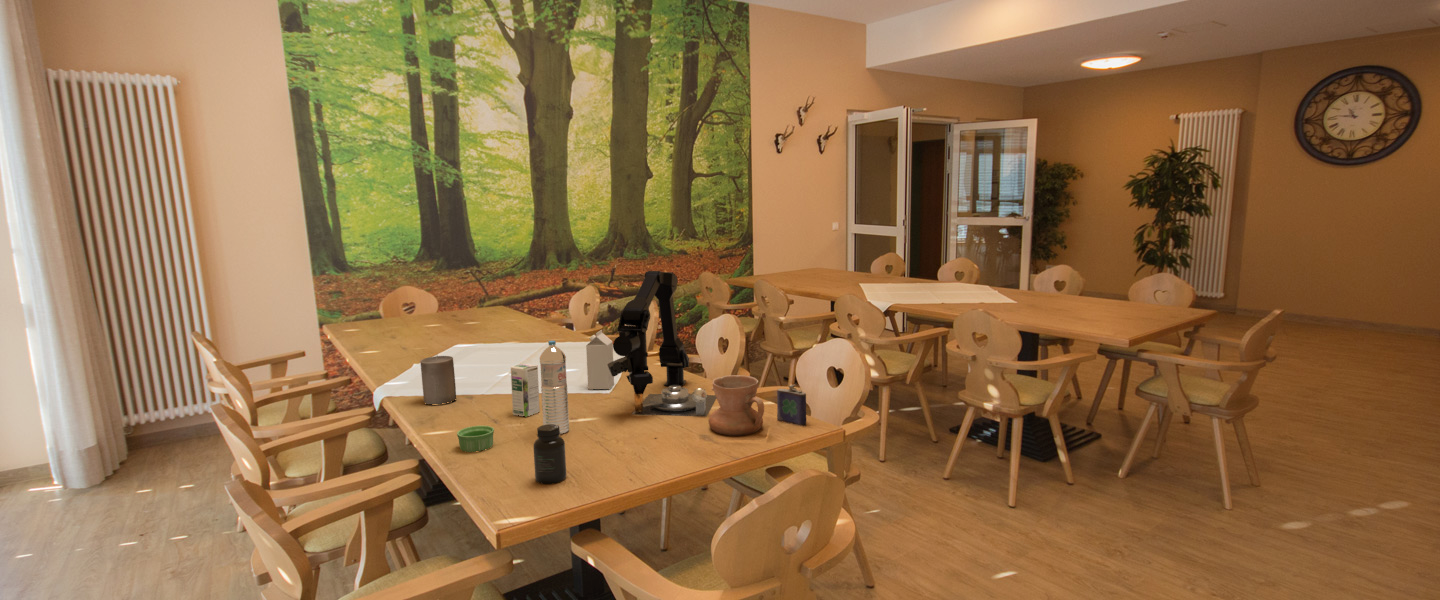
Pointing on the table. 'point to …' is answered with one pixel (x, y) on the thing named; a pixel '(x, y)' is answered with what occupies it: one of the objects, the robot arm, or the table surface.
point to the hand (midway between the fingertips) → (638, 400)
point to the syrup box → (525, 389)
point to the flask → (791, 406)
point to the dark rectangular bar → (700, 400)
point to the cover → (675, 394)
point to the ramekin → (475, 438)
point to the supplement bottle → (549, 455)
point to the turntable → (662, 404)
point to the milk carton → (599, 361)
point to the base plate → (709, 403)
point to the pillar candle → (438, 379)
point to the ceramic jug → (736, 406)
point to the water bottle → (554, 387)
